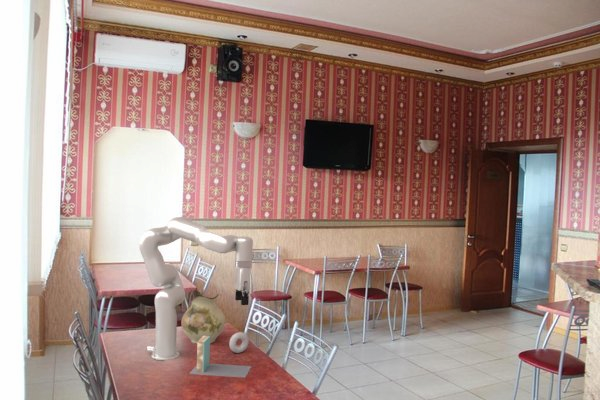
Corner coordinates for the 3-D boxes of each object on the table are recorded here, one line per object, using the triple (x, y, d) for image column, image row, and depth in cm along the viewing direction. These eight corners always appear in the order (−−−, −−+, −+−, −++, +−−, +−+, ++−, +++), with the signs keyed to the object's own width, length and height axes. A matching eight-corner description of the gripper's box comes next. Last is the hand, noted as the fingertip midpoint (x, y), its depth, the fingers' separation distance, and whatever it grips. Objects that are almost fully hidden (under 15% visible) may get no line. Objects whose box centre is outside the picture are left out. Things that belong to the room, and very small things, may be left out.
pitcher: (213, 349, 252) (214, 298, 252) (170, 344, 259) (171, 294, 259) (231, 337, 274) (233, 290, 274) (191, 333, 280) (193, 287, 280)
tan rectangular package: (196, 372, 219) (197, 341, 219) (202, 364, 228) (203, 335, 228) (203, 372, 219) (204, 342, 218) (209, 365, 228) (210, 336, 227)
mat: (188, 374, 217) (189, 373, 217) (198, 363, 231) (198, 362, 231) (245, 378, 214) (245, 377, 214) (251, 367, 228) (251, 366, 228)
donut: (230, 355, 244) (231, 334, 244) (227, 353, 247) (228, 332, 247) (249, 352, 249) (250, 331, 249) (246, 350, 252) (247, 330, 252)
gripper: (230, 261, 237) (228, 298, 238) (240, 267, 221) (238, 307, 222) (246, 261, 240) (244, 298, 241) (257, 267, 224) (255, 306, 225)
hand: (241, 302), depth 231 cm, fingers open, 9 cm apart
